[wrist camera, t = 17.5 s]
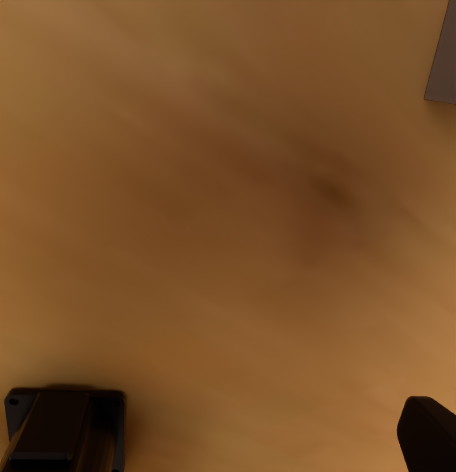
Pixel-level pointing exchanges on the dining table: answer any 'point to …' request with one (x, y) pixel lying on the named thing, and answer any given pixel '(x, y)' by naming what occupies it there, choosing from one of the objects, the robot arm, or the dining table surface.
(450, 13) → the grey matte cube
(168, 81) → the dining table surface
